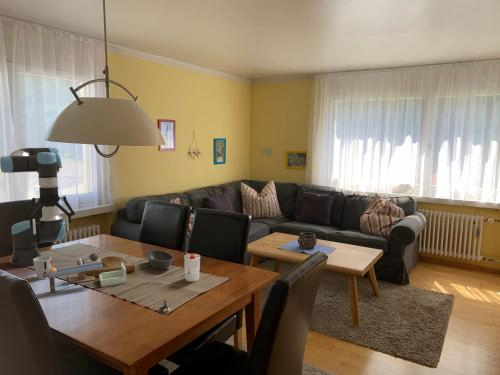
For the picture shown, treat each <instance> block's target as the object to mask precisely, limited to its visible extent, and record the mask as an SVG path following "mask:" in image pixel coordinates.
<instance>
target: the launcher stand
mask: <svg viewBox="0 0 500 375" xmlns="http://www.w3.org/2000/svg"><path fill="white" fill-rule="evenodd" d="M76 263H77V266H78V265H80V261H79V259H78V260H77V262H76ZM82 264H83V265H84V264H86V263H85V260H82ZM85 273H86V272H80V273H76V274H69V275H67V278H68V285H74V284H82V283H87V282H92V281H96V277H95V275H94V276H86V275H85ZM48 279H49V293H51V294H53V293H55V292H56V281H55V277H53V278H48Z"/></svg>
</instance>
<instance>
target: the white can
mask: <svg viewBox="0 0 500 375" xmlns="http://www.w3.org/2000/svg"><path fill="white" fill-rule="evenodd" d="M183 259H184V261H183V262H184V263H183V264H184V274H185V276H184V277H185V278H184V279H185V281H187V282H190V283H191V282H197V281H199V280H200V269H201V267H200V266H201V264H200V263H201V255H200V254H198V253H187V254H185V255H183Z"/></svg>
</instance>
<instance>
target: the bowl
mask: <svg viewBox="0 0 500 375" xmlns="http://www.w3.org/2000/svg"><path fill="white" fill-rule="evenodd" d="M145 255H146V258H147V261H148V262H149V264H150V265H151V267H152V268H154V269H157V270H161V271H166V270H168V269H169V268H170V267H171V265H172V263H173V260H174V255H172V254H171V253H170V252H168V251H164V250H160V249H151V250H148V251H147V252H146V253H145Z"/></svg>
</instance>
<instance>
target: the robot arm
mask: <svg viewBox="0 0 500 375" xmlns="http://www.w3.org/2000/svg"><path fill="white" fill-rule="evenodd" d="M60 169H63V164H62V159H61V155H60V151H59V149H58V148H57V147H25V148H21V149H16V150H14V151H12V152H11V153H10V154H9V155H4V156H3V155H2V156H0V171H1V173H6V174H7V173H8V174H12V173H37V174H38V186H39V197H38V198H37V197H32V198H31V203H30V206H29V208H28V210H27V211H26V213H25V215H24V219H25V220H23V221H20V222H17V223H14V224H13V225H12V226H11V237H12V238H11V239H12V240H11V241H12V254H11V256H10V266H11V267H15V268H16V267H17V268H19V267H20V268H23V267H28V266H34V262H33V259H34V258H36V257H40V256H42V255H41V252H40V250H39V248H38V244H42V243H50V242H58V241H63V240H64V238H65V236H66V235H65V234H66V231H67V232H69V231H70V228H69V227H70V226H69V225H70V224H72V216H75V214H76V213H75V211H74V209H73V208H72V206H71V204H70V203H69V202H68V200H67V196H66V195H63V196H60V195H59V187H58V185H59V183H58V181H59V180H58V173H59V172H60ZM60 200H61V201H62V202H64V204H65V206H66V207H67V209H68V210H69V211H68V210H67V209H65V207H63V205H61V203H60V202H59V201H60ZM38 202H39V203H40V205H39V206H38V207H37V208H36V209H35V210H34V212H33V213H32V214H31V212H32V210H33V208H34V206H35V204H36V203H38ZM40 211H42V212H41V214H42V216H41V218H39V222H36V218H35V217H36V216H37V215H38V214H39V212H40ZM60 211H62V212H63V213H64V214H65V215H66V216H65V217H66V218H65V219H64V218H63V217H62V215H60ZM30 214H31V215H30Z"/></svg>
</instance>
